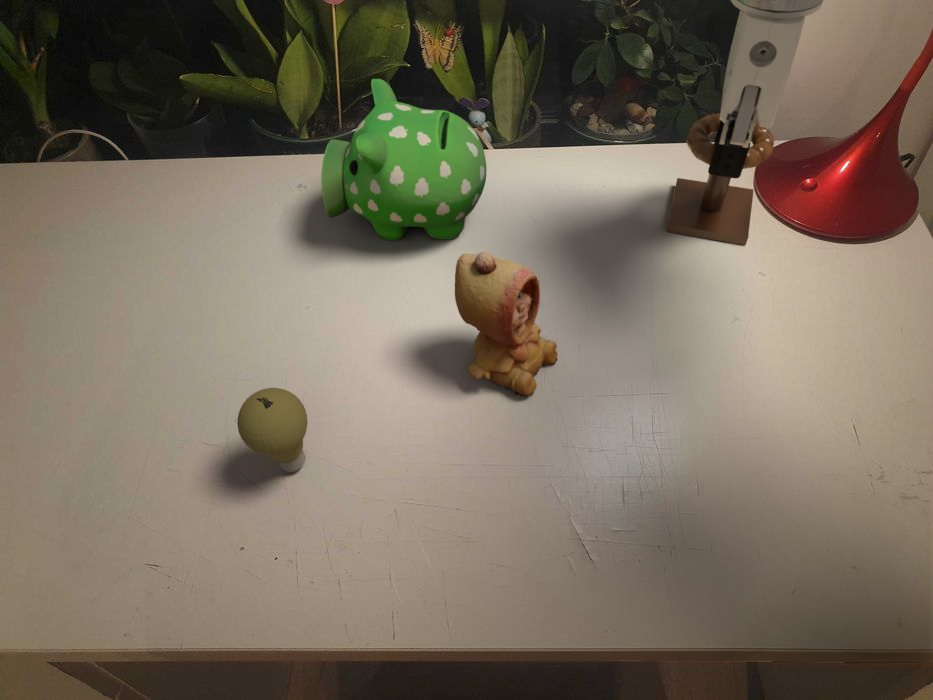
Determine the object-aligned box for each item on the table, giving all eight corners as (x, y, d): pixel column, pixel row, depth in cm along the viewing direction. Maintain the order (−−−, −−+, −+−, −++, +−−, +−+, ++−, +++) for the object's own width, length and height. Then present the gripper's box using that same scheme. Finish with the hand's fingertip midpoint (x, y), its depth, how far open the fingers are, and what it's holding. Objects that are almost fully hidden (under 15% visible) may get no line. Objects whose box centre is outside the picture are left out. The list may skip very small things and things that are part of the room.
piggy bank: (351, 184, 86) (325, 75, 75) (489, 181, 85) (485, 70, 73) (332, 259, 77) (300, 149, 66) (487, 257, 76) (482, 144, 64)
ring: (773, 132, 73) (778, 116, 71) (767, 179, 68) (773, 163, 66) (691, 120, 75) (695, 104, 74) (680, 165, 70) (683, 149, 69)
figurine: (528, 415, 62) (491, 297, 52) (462, 396, 66) (417, 283, 56) (571, 343, 67) (545, 223, 57) (508, 329, 71) (474, 215, 61)
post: (751, 197, 80) (774, 130, 73) (745, 245, 75) (769, 178, 68) (675, 185, 82) (690, 119, 75) (664, 231, 77) (680, 165, 70)
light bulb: (333, 442, 62) (307, 378, 54) (312, 496, 58) (282, 436, 50) (278, 433, 63) (244, 369, 55) (254, 485, 59) (215, 426, 51)
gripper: (827, 30, 50) (757, 220, 64) (828, -54, 59) (766, 128, 73) (724, 20, 52) (678, 207, 66) (741, -60, 61) (697, 119, 75)
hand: (725, 164), depth 70 cm, fingers closed on ring, 2 cm apart
